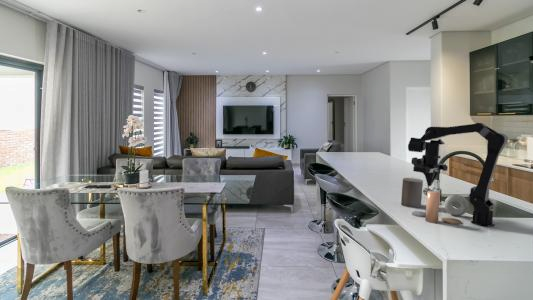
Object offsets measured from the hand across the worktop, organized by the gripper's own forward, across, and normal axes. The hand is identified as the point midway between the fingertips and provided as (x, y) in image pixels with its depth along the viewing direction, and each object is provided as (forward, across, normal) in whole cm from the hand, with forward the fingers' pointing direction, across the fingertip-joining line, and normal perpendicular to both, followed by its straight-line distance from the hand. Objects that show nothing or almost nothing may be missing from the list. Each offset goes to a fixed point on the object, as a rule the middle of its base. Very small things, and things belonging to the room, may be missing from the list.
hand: (429, 185), depth 155 cm
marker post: (+13, +11, +9) cm, 19 cm away
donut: (+13, -8, +9) cm, 18 cm away
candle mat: (+13, +6, +1) cm, 14 cm away
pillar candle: (+14, -6, -12) cm, 19 cm away
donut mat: (+13, +3, +13) cm, 19 cm away
